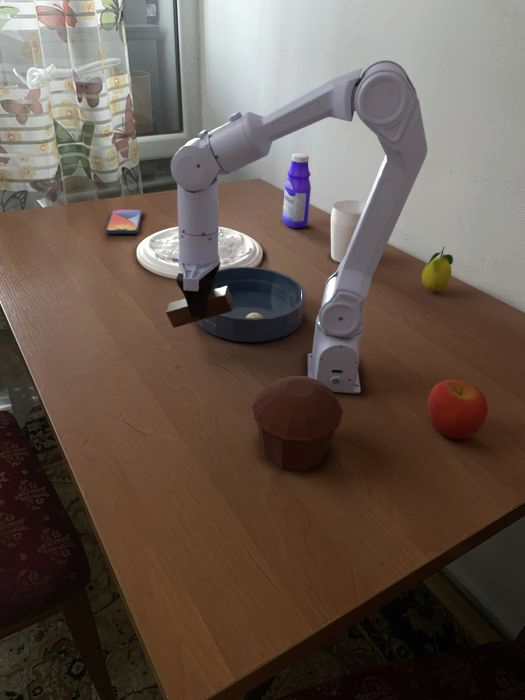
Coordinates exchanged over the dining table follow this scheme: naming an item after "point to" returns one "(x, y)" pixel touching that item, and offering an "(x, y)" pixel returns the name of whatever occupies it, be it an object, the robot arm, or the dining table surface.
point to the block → (216, 305)
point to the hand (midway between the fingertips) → (199, 310)
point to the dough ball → (254, 315)
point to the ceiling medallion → (163, 244)
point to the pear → (437, 272)
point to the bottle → (297, 192)
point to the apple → (457, 408)
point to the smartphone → (124, 222)
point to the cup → (344, 226)
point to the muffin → (296, 421)
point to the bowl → (257, 305)
